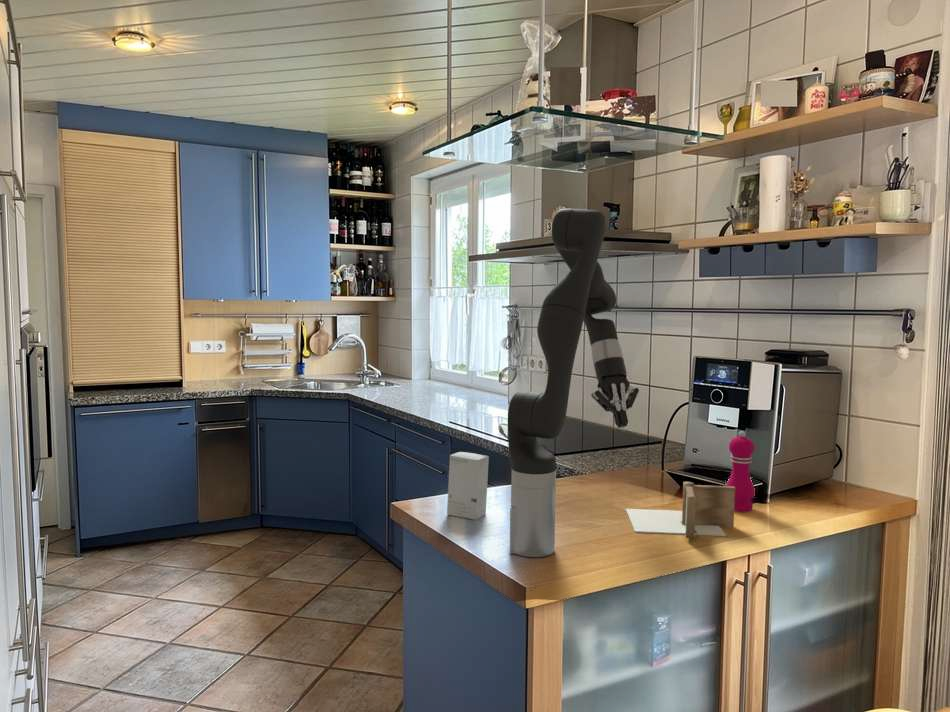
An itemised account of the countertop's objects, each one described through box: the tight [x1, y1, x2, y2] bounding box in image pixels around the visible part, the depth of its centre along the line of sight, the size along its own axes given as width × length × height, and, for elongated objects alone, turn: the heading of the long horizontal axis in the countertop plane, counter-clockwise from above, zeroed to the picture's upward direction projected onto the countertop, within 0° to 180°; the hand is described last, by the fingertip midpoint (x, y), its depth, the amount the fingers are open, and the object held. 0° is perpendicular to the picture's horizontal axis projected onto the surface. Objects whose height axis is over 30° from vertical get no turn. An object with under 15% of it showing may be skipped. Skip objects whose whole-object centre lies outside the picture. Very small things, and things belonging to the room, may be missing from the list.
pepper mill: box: [725, 430, 755, 513], centre depth 172 cm, size 7×7×20 cm
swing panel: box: [685, 486, 696, 540], centre depth 152 cm, size 11×2×9 cm, turn 165°
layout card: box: [625, 508, 727, 537], centre depth 161 cm, size 20×17×1 cm
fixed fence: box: [681, 481, 735, 528], centre depth 158 cm, size 12×2×10 cm, turn 84°
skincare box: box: [446, 451, 490, 521], centre depth 165 cm, size 8×6×15 cm
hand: (622, 426), depth 167 cm, fingers closed
